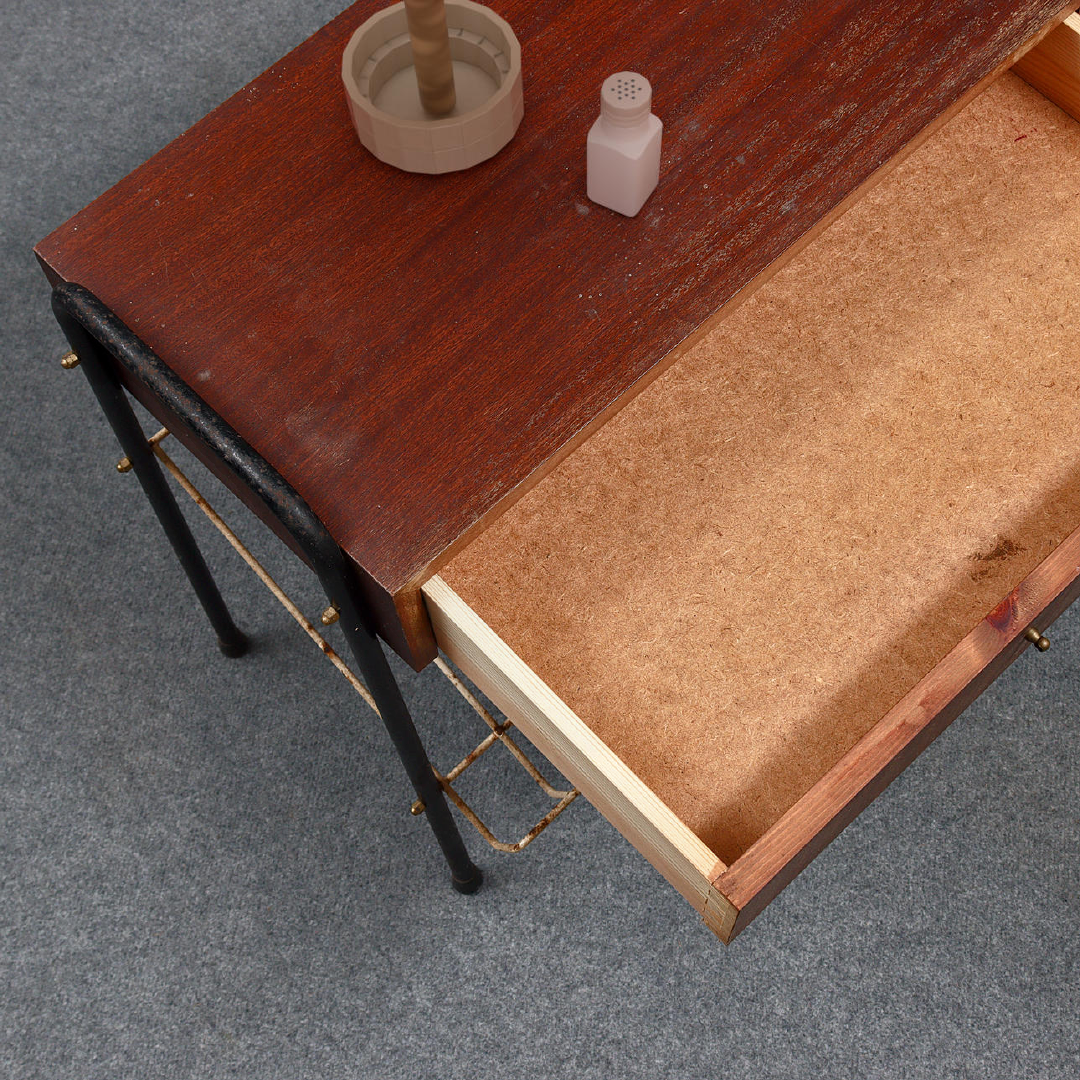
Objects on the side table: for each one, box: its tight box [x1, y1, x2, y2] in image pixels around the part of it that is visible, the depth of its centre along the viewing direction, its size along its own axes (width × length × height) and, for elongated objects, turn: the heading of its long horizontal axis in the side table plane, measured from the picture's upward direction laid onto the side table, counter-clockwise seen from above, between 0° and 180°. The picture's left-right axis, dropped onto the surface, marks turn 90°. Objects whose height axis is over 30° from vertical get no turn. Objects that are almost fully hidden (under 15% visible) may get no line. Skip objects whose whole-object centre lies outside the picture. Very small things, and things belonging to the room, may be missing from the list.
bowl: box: [340, 0, 525, 175], centre depth 90 cm, size 12×13×5 cm
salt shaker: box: [586, 70, 664, 218], centre depth 84 cm, size 4×4×10 cm
